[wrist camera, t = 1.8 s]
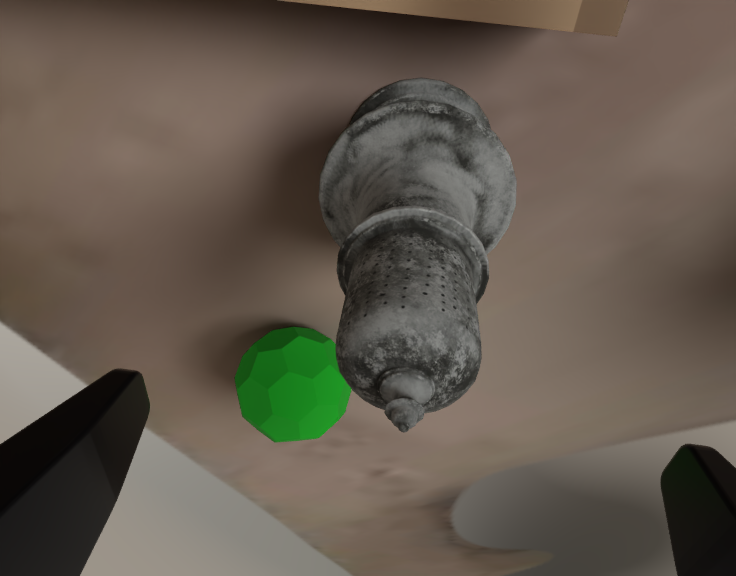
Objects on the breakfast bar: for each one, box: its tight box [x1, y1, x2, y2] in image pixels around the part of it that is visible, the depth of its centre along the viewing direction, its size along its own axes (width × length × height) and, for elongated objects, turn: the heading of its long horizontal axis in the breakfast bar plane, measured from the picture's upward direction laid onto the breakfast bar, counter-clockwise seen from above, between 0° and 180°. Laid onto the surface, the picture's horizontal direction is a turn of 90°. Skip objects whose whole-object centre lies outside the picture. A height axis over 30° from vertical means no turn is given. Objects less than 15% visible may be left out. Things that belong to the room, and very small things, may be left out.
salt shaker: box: [319, 78, 516, 432], centre depth 13 cm, size 6×6×12 cm
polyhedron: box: [235, 327, 351, 442], centre depth 22 cm, size 5×5×5 cm
